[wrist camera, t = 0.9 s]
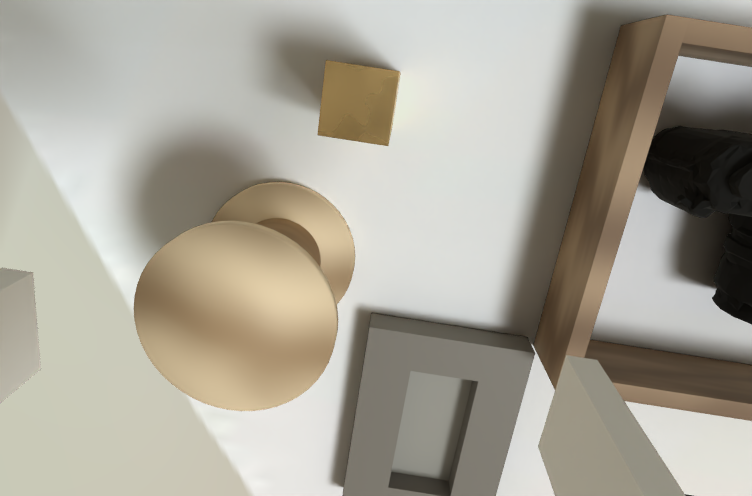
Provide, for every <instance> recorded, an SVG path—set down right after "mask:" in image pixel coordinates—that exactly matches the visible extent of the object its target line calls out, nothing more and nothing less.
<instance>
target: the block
mask: <svg viewBox="0 0 752 496" xmlns="http://www.w3.org/2000/svg"><path fill="white" fill-rule="evenodd" d="M399 80H400V71H393V70H387V69H381V68H374V67H368V66H361V65H355V64H348V63H342V62H336V61H329V60H326V63H325V72H324V81H323V90H322V99H321V108H320V117H319V126H318V135H320V136H326V137H333V138H339V139H346V140H352V141H359V142H365V143H371V144H378V145H384V146H388V145H389V140H390V135H391V131H392V125H393V119H394V112H395V106H396V99H397V93H398V86H399Z"/></svg>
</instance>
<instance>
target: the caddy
mask: <svg viewBox="0 0 752 496" xmlns="http://www.w3.org/2000/svg"><path fill="white" fill-rule="evenodd" d="M678 56H684V57H691V58H697V59H704V60H710V61H716V62H723V63H729V64H736V65H742V66H749V67H752V28H750V27H744V26H737V25H731V24H724V23H718V22H712V21H705V20H699V19H692V18H686V17H679V16H673V15H663V16H659V17H655V18H650V19H646V20H642V21H638V22H634V23H629V24H625V25H621V27H620V31H619V35H618V38H617V42H616V45H615V49H614V53H613V56H612V60H611V64H610V67H609V71H608V75H607V78H606V82H605V86H604V89H603V93H602V97H601V100H600V104H599V108H598V111H597V115H596V119H595V122H594V126H593V130H592V133H591V137H590V140H589V144H588V148H587V151H586V155H585V159H584V162H583V166H582V170H581V173H580V177H579V181H578V184H577V188H576V192H575V195H574V199H573V203H572V206H571V210H570V214H569V217H568V221H567V224H566V228H565V232H564V235H563V239H562V243H561V246H560V250H559V254H558V257H557V261H556V265H555V268H554V272H553V276H552V279H551V283H550V287H549V290H548V294H547V298H546V301H545V305H544V308H543V312H542V316H541V319H540V323H539V327H538V330H537V334H536V338H535V341H534V345H533V346H534V348H535V350H536V352H537V354H538V356H539V358H540V360H541V362H542V364H543V366H544V368H545V370H546V372H547V374H548V376H549V379H550V381H551V383H552V385H553V387H554V389H555V390H556V387H557V383H558V380H559V377H560V374H561V370H562V367H563V364H564V361H565V358H566V355H568V356H575V357H581V358H587V359H594V360H598V362H599V363H600V365H601V366H602V368H603V369H604V371H605V373H606V374H607V376H608V377H609V379H610V380H611V382H612V383H613V385H614V386H615V388H616V389H617V391H618V393H619V394H620V396H621V397H622V399H623V400H624V401H628V402H635V403H641V404H647V405H654V406H660V407H667V408H673V409H679V410H686V411H692V412H699V413H705V414H711V415H718V416H724V417H731V418H737V419H744V420H750V421H752V365H749V364H742V363H736V362H730V361H723V360H717V359H710V358H704V357H698V356H691V355H685V354H678V353H672V352H666V351H659V350H653V349H646V348H640V347H634V346H627V345H621V344H614V343H608V342H601V341H595V340H590V337H591V334H592V331H593V328H594V325H595V321H596V318H597V315H598V312H599V308H600V305H601V302H602V299H603V296H604V292H605V289H606V286H607V283H608V280H609V276H610V273H611V270H612V267H613V263H614V260H615V257H616V254H617V251H618V247H619V244H620V241H621V238H622V235H623V231H624V228H625V225H626V222H627V218H628V215H629V212H630V209H631V206H632V202H633V199H634V196H635V193H636V190H637V186H638V183H639V180H640V177H641V173H642V170H643V167H644V164H645V161H646V157H647V154H648V151H649V148H650V145H651V141H652V138H653V135H654V132H655V128H656V125H657V122H658V119H659V116H660V112H661V109H662V106H663V103H664V100H665V96H666V93H667V90H668V87H669V83H670V80H671V77H672V74H673V71H674V67H675V64H676V61H677V58H678Z"/></svg>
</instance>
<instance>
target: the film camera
mask: <svg viewBox="0 0 752 496" xmlns="http://www.w3.org/2000/svg"><path fill="white" fill-rule="evenodd" d="M643 168H644V171H645V176H646V177H647V179H648V181H649V183H650V187H651V190H652V191H653V193H654V194H655V195H656V196H657V197H658V198H659V199H661V200H663V201H665V202H667V203H669V204H671V205H673V206H675V207H678V208H680V209H682V210H684V211H686V212H688V213H690V214H692V215H694V216H697V217H700V218H706V217H708V216H709V215H710V214H712V213H713V212H714V211H719V212H722V213H729V217H728V219H729V221H730V223H731V225H732V227H733V229H732V233H731V234H728V235H727V238H726V240H725V243H724V248H725V252H726V253H725V254H724V255H723V256H722V258H721V261H720V263H719V266H718V269H717V272H716V275H715V277H714V283H715V284H716V286H717V287H718V288H717V290H716V294H715V295H714V296H713V297H712V299H713V301H714V302H715V304H716V305H717V306H718V307H719V308H720V309H722V310H723V311H725V312H727V313H728V314H730V315H731V316H733V317H735V318H738V319H741V320H743V321H745V322H748V323H750V324H752V134H747V133H740V132H733V131H726V130H708V129H698V128H688V127H683V126H677V127H673V128H669V129H665V130H663V131H662V132H660V133H659V134H658V135H656V136H655V137H654V138H653V139H652V141H651V145H650V148H649V151H648V154H647V157H646V161H645V164H644V167H643Z"/></svg>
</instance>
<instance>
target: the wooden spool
mask: <svg viewBox="0 0 752 496" xmlns="http://www.w3.org/2000/svg"><path fill="white" fill-rule="evenodd" d="M354 265H355V247H354V242H353V238H352V235H351V232H350V229H349V227H348V225H347V223H346V221H345V219H344V218H343V217H342V215H341V214H340V212H339V211H338V210H337V209H336V208H335V207H334V205H333V204H331V203H330V202H329V201H328V200H327V199H326V198H324V197H323V196H321V195H320V194H318V193H317V192H315V191H313V190H311V189H309V188H306V187H303V186H301V185H297V184H293V183H287V182H268V183H262V184H258V185H255V186H252V187H249V188H247V189H245V190H243V191H241V192H240V193H238V194H237V195H235V196H234V197H232V198H231V199H230V200H229V201H227V202H226V203H225V204H224V205H223V206H222V207H221V209H220V210H219V211H218V212H217V214H216V215H215V217H214V219H213V220H212V223H206V224H203V225H200V226H197V227H194V228H192V229H190V230H187V231H185V232H183V233H182V234H180V235H179V236H177V237H176V238H174V239H173V240H171V241H170V242H168V243H167V244H166V245H164V246H163V247H162V248H161V249H160V250H159V251H158V252H157V253H155V255H154V256H153V257H152V258H151V260H150V261H149V262H148V263H147V265H146V267H145V269H144V270H143V272H142V274H141V276H140V279H139V282H138V284H137V288H136V293H135V298H134V318H135V324H136V329H137V333H138V336H139V339H140V342H141V344H142V346H143V348H144V350H145V352H146V354H147V356H148V357H149V359H150V360H151V362H152V363H153V365H154V366H155V367H156V369H157V370H158V371H159V372H160V373H161V374H162V375H163V376H164V377H165V378H166V379H167V380H168V381H169V382H170V383H171V384H172V385H174V386H175V387H176V388H178V389H179V390H180V391H182V392H183V393H185V394H187V395H189V396H190V397H192V398H194V399H196V400H198V401H201V402H203V403H205V404H208V405H211V406H214V407H218V408H223V409H227V410H236V411H256V410H264V409H269V408H273V407H277V406H279V405H282V404H284V403H287V402H289V401H291V400H293V399H295V398H296V397H298V396H300V395H301V394H302V393H304V392H305V391H307V390H308V389H309V388H310V387H311V386H312V385H313V384H314V383H315V382H316V381H317V380H318V378H319V377H320V376H321V374H322V373H323V372H324V370H325V368H326V366H327V364H328V363H329V360H330V357H331V355H332V352H333V349H334V345H335V340H336V336H337V330H338V311H337V304H338V303H339V301H340V300H341V299H342V297H343V296H344V294H345V292H346V291H347V289H348V287H349V284H350V281H351V278H352V274H353V270H354Z"/></svg>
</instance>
